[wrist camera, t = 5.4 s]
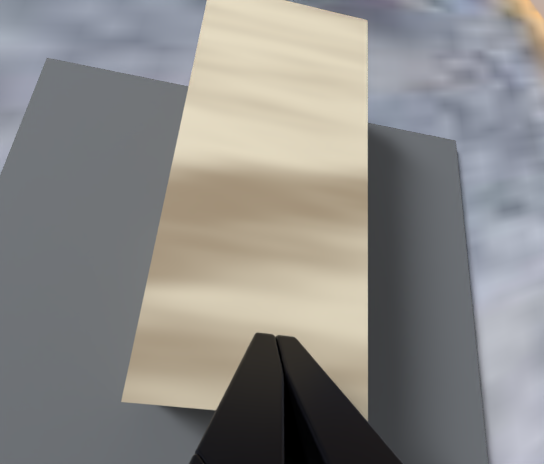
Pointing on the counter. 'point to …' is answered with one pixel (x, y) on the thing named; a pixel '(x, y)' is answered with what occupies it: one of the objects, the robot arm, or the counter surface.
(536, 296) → the counter surface
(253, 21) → the birch block
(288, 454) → the robot arm
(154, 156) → the rubber mat
